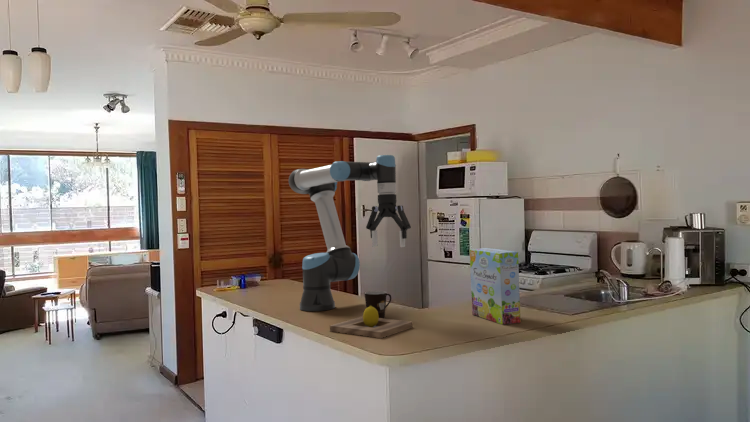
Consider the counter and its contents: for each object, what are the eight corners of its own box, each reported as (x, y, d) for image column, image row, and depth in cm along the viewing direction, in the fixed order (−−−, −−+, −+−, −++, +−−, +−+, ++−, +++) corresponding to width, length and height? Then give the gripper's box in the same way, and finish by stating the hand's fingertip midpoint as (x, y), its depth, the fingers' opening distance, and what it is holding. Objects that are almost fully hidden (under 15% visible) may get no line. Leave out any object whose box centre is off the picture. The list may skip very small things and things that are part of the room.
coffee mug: (368, 321, 212) (367, 294, 212) (362, 317, 220) (361, 291, 220) (397, 319, 215) (397, 292, 215) (391, 315, 223) (390, 289, 223)
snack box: (469, 315, 218) (467, 248, 218) (489, 313, 221) (487, 247, 221) (501, 325, 198) (499, 252, 198) (522, 323, 201) (520, 250, 201)
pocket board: (329, 331, 197) (329, 325, 197) (363, 321, 212) (363, 316, 212) (380, 338, 184) (380, 332, 184) (412, 327, 199) (412, 321, 199)
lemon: (377, 326, 202) (377, 304, 202) (379, 329, 196) (379, 306, 196) (362, 327, 201) (361, 304, 201) (364, 330, 195) (363, 307, 195)
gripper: (356, 195, 231) (358, 246, 231) (407, 192, 216) (409, 248, 216) (367, 195, 237) (369, 245, 237) (418, 192, 222) (420, 246, 222)
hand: (388, 246), depth 227 cm, fingers open, 13 cm apart
